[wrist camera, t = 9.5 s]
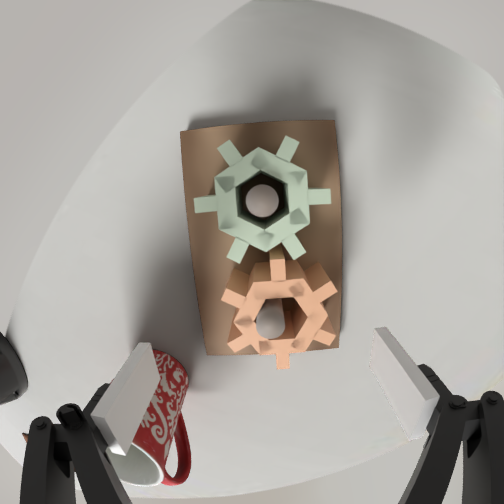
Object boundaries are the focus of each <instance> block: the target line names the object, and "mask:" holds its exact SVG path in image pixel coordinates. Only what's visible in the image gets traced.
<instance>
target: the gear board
mask: <svg viewBox="0 0 504 504" xmlns="http://www.w3.org/2000/svg"><path fill="white" fill-rule="evenodd" d="M285 136H288V137H290V138H292V139H294V140H296V141H298V142H299V144H298V146H297V149H296V151H295V153H294V155H293V157H292V159H291V161H290V163H292V164H294V165H296V166H298V167H300V168H302V169H304V170H306V171H307V181H308V188H328V189H330V191H331V204H317V205H309V216H310V224H308V225H307V226H305V227H304V228H302V229H301V230H299V231H298V232H296V233H295V235H296V236H297V238H298V239H299V241H300V243H301V244H302V246H303V248H304V249H305V251H306V253H304V254H303V255H301V256H300V257H298V258H297V259H295V260H297V262H298V263H299V265H300V266H301V268H302V269H303V271H305V270H306V269H308V268H309V267H311V266H313V265H314V264H316V263H317V262H319V263H320V265H321V266H322V268H323V269H324V271H325V272H326V274H327V275H328V277H329V278H330V280H331V282H332V283H333V285H334V286H335V288H336V290H337V291H338V292H336V293H335V294H333V295H331V296H330V297H328V298H327V299H325V300H324V301H322V303H323V305H324V307H325V310H326V312H327V314H328V318H329V320H330V322H331V325H332V327H333V329H334V332H335V334H336V337H335V338H334V340H333V341H332V343H331V344H330V346H329V345H326V344H323V343H321V342H318V341H316V340H312V342H311V343H310V345H309V347H308V348H307V350H306V351H312V350H322V349H332V348H339V333H340V315H341V289H342V222H341V195H340V177H339V163H338V150H337V139H336V129H335V120H296V121H273V122H257V123H245V124H234V125H225V126H216V127H208V128H201V129H194V130H187V131H181V132H180V139H181V154H182V167H183V180H184V191H185V202H186V212H187V221H188V230H189V239H190V247H191V255H192V263H193V271H194V278H195V285H196V292H197V299H198V305H199V312H200V318H201V324H202V330H203V336H204V342H205V347H206V353H207V355H251V354H259V353H258V352H257V351H256V350H255V349H254V347H253V346H252V345H251V344H250V345H248V346H246V347H245V348H243V349H241V350H239V351H237V352H235V353H234V351H233V350H232V349H231V348H230V347H229V346H228V344H227V341H228V337H229V333H230V328H231V324H232V320H233V316H234V315H235V312H236V307H235V306H233V305H230V304H228V303H226V302H224V301H222V300H221V298H222V295H223V293H224V290H225V287H226V285H227V282H228V279H229V277H230V275H231V273H232V271H233V268H235V269H237V270H239V271H242V272H244V273H246V274H248V275H250V273H251V271H252V269H253V267H254V265H255V263H259V262H270V254H269V251H267V252H265V251H263V250H261V249H258V248H256V247H254V246H252V245H250V244H249V246H248V248H247V250H246V252H245V254H244V256H243V258H242V260H241V262H240V264H239V263H237V262H235V261H233V260H231V259H229V258H227V255H228V253H229V251H230V249H231V246H232V244H233V242H234V240H235V237H233V236H231V235H229V234H227V233H225V232H223V231H221V230H219V226H218V215H217V211H213V212H202V213H195V207H194V198H197V197H202V196H207V195H215V194H216V193H215V181H214V177H215V176H217V175H218V174H220V173H221V172H223V171H224V170H225V169H227V168H228V167H230V166H229V165H228V163H227V162H226V161H225V159H224V158H223V156H222V155H221V153H220V152H219V151H218V149H217V148H218V147H219V146H221V145H222V144H224V143H225V142H227V141H228V140H230V141H231V142H232V143H233V145H234V146H235V147H236V148H237V150H238V151H239V153H240V154H241V155H242V157H244V156H246V155H247V154H249V153H250V152H252V151H253V150H255V149H256V148H258V147H259V148H261V149H263V150H266V151H268V152H270V153H272V154H274V155H276V154H277V152H278V150H279V148H280V146H281V144H282V142H283V140H284V138H285ZM241 190H242V203H243V210H244V211H246V212H248V213H250V214H252V215H255V216H257V217H259V218H261V219H263V220H266V219H267V218H269V217H270V216H272V215H273V214H275V213H276V212H278V211H279V210H281V209H282V208H284V193H283V183H281V182H279V181H277V180H275V179H273V178H271V177H269V176H266V175H264V174H262V173H260V174H259V175H257V176H256V177H254V178H253V179H251V180H250V181H248V182H247V183H245V184H244V185H242V186H241ZM279 244H281V246H282V250H283V254H284V258H285V261H287V260H293V258H292V257H291V255H290V254H289V252H288V251H287V249H286V248H285V246H284V245H283V243H282V242H281V243H279ZM295 301H296V299H295V298H294V297H287V298H273V299H265V301H264V303H263V305H262V307H261V309H260V311H259V313H258V314H257V319H256V330H257V332H258V334H259V335H260V336H262V337H264V338H267V339H274V338H277V337H279V336H280V335H281V334H282V333H283V332H284V330H285V321H284V314H283V311H290V310H291V308H292V306H293V304H294V303H295Z"/></svg>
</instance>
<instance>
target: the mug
mask: <svg viewBox="0 0 504 504" xmlns="http://www.w3.org/2000/svg"><path fill="white" fill-rule="evenodd" d="M153 354H154V358H155V361H156V365H157V368H158V372H159V375H160V378H161V379H160V381H159V383H158V386H157V388H156V390H155V392H154V394H153V396H152V399H151V401H150V403H149V405H148V407H147V410H146V412H145V414H144V416H143V418H142V421H141V423H140V425H139V427H138V430H137V432H136V434H135V436H134V439H133V441H132V443H131V445H130V448H129V450H128V452H127V455H126V456H125V455H120V454H115V453H112V451H111V450H110V448H109V446H108V447H107V449H106V453H107V454H108V456H109V459H110V461H111V463H112V465H113V467H114V469H115V472H116V474H117V476H118V478H119V480H120V481H122V482H125V483H128V484H132V485H137V486H155V485H158V484H160V483H162V484H165V485H179V484H182V483H183V482H185V481H186V479H187V478H188V476H189V473H190V469H191V450H190V445H189V439H188V435H187V431H186V427H185V423H184V419H183V416H182V413H181V408H182V405H183V401H184V398H185V395H186V392H187V389H188V384H189V381H188V376H187V373H186V371H185V369H184V368H183V366H182V365H181V364H180V363H179V362H178V361H177V360H176V359H175V358H173V357H172V356H170V355H168V354H166V353H164V352H162V351H158V350H153ZM113 380H114V379H113ZM113 380H112V381H113ZM111 383H112V382H111ZM111 383H110V384H111ZM173 436H174V437H175V442H176V447H177V453H178V468H177V472H176V475H175V477H174V478H172V477H171V476H170V475H169V474H168V473H167V471H166V469H165V465H166V461H167V457H168V454H169V450H170V447H171V443H172V439H173Z"/></svg>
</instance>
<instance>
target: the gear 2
mask: <svg viewBox="0 0 504 504" xmlns="http://www.w3.org/2000/svg"><path fill="white" fill-rule="evenodd" d="M269 254H270V262H259V263H255V265H254V267H253V269H252V271H251V273H250V275H248V274H246V273H244V272H242V271H239V270H237V269H235V268H233V271H232V273H231V275H230V277H229V279H228V282H227V285H226V287H225V290H224V293H223V295H222V298H221V300H222V301H224V302H226V303H228V304H230V305H233V306H235V307H236V312H235V315H234V316H233V320H232V324H231V328H230V333H229V337H228V341H227V344H228V346H229V347H230V348H231V349H232V350H233V351H234V353H235V352H237V351H239V350H241V349H243V348H245V347H246V346H248V345H250V344H251V345H252V346H253V347H254V349H255V350H256V351H257V352H258V353H259V355H271V354H276V362H277V369H288V368H290V367H289V353H297V352H305V351H306V350H307V348H308V347H309V345H310V343H311V342H312V340H316V341H318V342H321V343H323V344H326V345H329V346H330V344H331V343H332V341H333V340H334V338H335V337H336V334H335V332H334V329H333V327H332V325H331V322H330V320H329V318H328V314H327V312H326V310H325V307H324V305H323V303H322V301H324V300H325V299H327V298H328V297H330V296H331V295H333V294H335V293H336V292H338V291H337V290H336V288H335V286H334V285H333V283H332V282H331V280H330V278H329V277H328V275H327V274H326V272H325V271H324V269H323V268H322V266H321V265H320V263H319V262H317V263H316V264H314V265H313V266H311V267H309V268H308V269H306V270H305V271H303V269H302V268H301V266H300V265H299V263H298V262H297V260H287V261H285V258H284V254H283V250H282V246H281V244H278V245H276V246H275V247H273V248H272V249H270V250H269ZM287 297H294V298H295V299H296V301H295V303H294V304H293V306H292V308H291V310H290V311H283V314H284V321H285V330H284V332H283V333H282V334H281V335H280V336H279V337H277V338H274V339H267V338H264V337H262V336H260V335H259V334H258V332H257V330H256V319H257V314H258V313H259V311H260V309H261V307H262V305H263V303H264V301H265V299H273V298H287Z"/></svg>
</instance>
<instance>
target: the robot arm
mask: <svg viewBox="0 0 504 504" xmlns="http://www.w3.org/2000/svg"><path fill="white" fill-rule="evenodd" d="M369 367H370V369H371V370H372V372H373V374H374V376H375V378H376V379H377V381H378V383H379V385H380V387H381V389H382V390H383V392H384V394H385V396H386V398H387V400H388V402H389V404H390V405H391V407H392V409H393V411H394V413H395V415H396V417H397V419H398V421H399V423H400V425H401V427H402V428H403V430H404V432H405V434H406V436H407V438H408V440H409V441H412V440H415V439H418V438H420V437H423V435H424V433H425V431H426V429H427V431H428V432H429V436H428V438H427V441H426V442H425V444H424V446H423V448H424V449H423V451H422V454H421V457H420V459H419V461H418V463H417V466H416V468H415V470H414V473H413V475H412V477H411V479H410V481H409V483H408V485H407V487H406V490H405V491H404V494H403V495H402V497H401V499H400V501H399V503H398V504H442V501H443V499H444V496H445V494H446V491H447V488H448V485H449V482H450V479H451V476H452V473H453V470H454V467H455V463H456V460H457V456H458V453H459V449H460V445H461V441H463V494H462V504H504V400H503V397H502V395H500V394H499V393H498V392H495V391H487V392H485V393H484V394H483V395H482V397H481V399H480V400H477V401H467V400H466V399H465V398H464V397H462V396H459V395H452V393H451V392H450V391H449V390H448V388H447V387H446V386H445V385H444V383H443V382H442V381H441V380H440V378H439V377H438V376H437V375H436V374H435V372H434V371H433V370H432V369H431V368H430V367H428V366H427V365H425V364H421V365H418V366H417V365H416V364H415V362H414V361H413V360H412V359H411V357H410V356H409V355H408V354H407V352H406V351H405V350H404V349H403V347H402V346H401V345H400V344H399V342H398V341H397V340H396V339H395V337H394V336H393V335H392V334H391V332H390V331H389V330H388V329H387V328H386V327H382V328H375V329H374V336H373V344H372V351H371V358H370V364H369ZM160 379H161V378H160V375H159V372H158V368H157V365H156V361H155V358H154V354H153V350H152V347H151V343H142V342H139V343H138V345H137V346H136V348H135V349H134V350H133V352H132V353H131V355H130V356H129V358H128V359H127V361H126V362H125V363H124V365H123V366H122V368H121V369H120V371H119V372H118V374H117V375H116V377H115V378H114V380H113V381H112V383H111V384H107V383H105V384H104V385H102V386H101V387H100V388H98V390H97V391H96V393H95V394H94V396H93V397H92V398H91V400H90V401H89V403H88V404H87V406H86V407H85V408H84V410H83V411H81V409H80V407H79V406H78V405H76V404H72V403H70V404H65V405H63V406H61V407H60V408H59V409H58V411H57V413H56V416H57V418H58V419H59V421H60V423H61V424H53V423H52V421H51V420H50V419H49V418H48V417H45V416H41V417H38V418H36V419H34V420H33V421H32V423H31V425H30V430H29V435H28V440H27V445H26V451H25V457H24V464H23V472H22V481H21V492H20V504H76V498H75V479H74V468H75V471H76V474H77V477H78V480H79V483H80V486H81V489H82V492H83V494H84V497H85V500H86V502H87V504H132V502H131V500H130V499H129V497H128V495H127V493H126V491H125V489H124V487H123V486H122V484H121V482H120V480H119V478H118V476H117V474H116V472H115V469H114V467H113V465H112V463H111V461H110V459H109V456H108V454H107V453H106V449H107V447H108V446H109V448H110V450H111V451H112V453H115V454H120V455H125V456H126V455H127V452H128V450H129V448H130V445H131V443H132V441H133V439H134V436H135V434H136V432H137V430H138V427H139V425H140V423H141V421H142V418H143V416H144V414H145V412H146V410H147V407H148V405H149V403H150V401H151V399H152V396H153V394H154V392H155V390H156V388H157V386H158V383H159V381H160ZM26 390H27V378H26V375H25V372H24V369H23V367H22V365H21V362H20V360H19V359H18V357H17V355H16V353H15V351H14V350H13V348H12V347H11V345H10V344H9V342H8V341H7V340H6V338H5V337H4V336H3V334H2V333H1V332H0V405H2V404H5V403H8V402H10V401H13V400H16V399H18V398H20V397H21V396H22V395H23V394H24V393H25V392H26Z"/></svg>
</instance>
